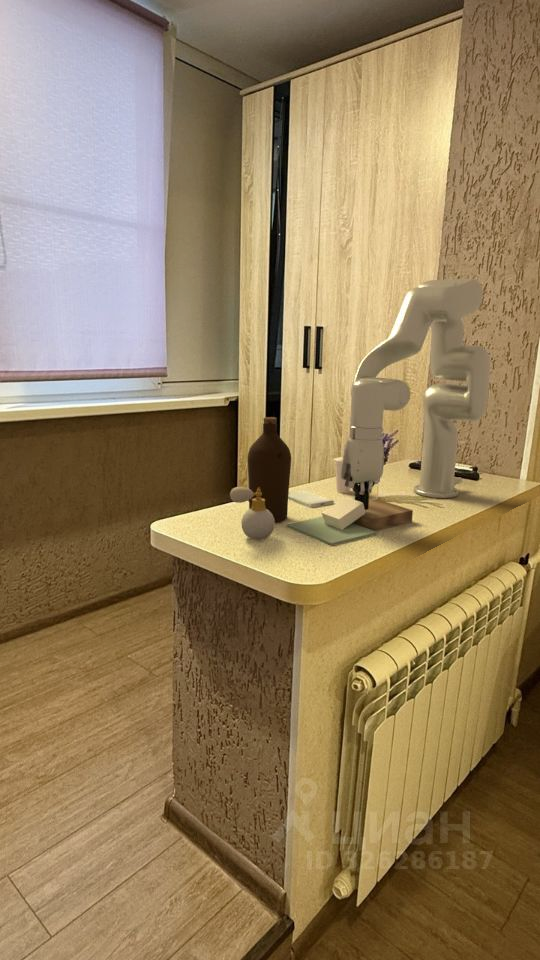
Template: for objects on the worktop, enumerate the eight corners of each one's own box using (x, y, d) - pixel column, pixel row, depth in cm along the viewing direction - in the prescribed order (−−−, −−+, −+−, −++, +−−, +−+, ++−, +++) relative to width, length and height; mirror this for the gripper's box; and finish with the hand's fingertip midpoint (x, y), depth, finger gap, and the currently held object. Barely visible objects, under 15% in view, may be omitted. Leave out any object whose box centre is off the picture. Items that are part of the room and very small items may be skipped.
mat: (330, 517, 151) (330, 514, 151) (376, 534, 138) (376, 531, 138) (286, 526, 143) (286, 524, 142) (331, 545, 130) (331, 543, 130)
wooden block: (376, 510, 158) (377, 499, 157) (411, 521, 148) (412, 510, 148) (337, 518, 150) (337, 507, 149) (372, 531, 140) (372, 519, 139)
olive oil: (297, 516, 151) (300, 417, 145) (275, 527, 142) (278, 422, 136) (261, 509, 156) (262, 413, 150) (238, 519, 147) (239, 418, 141)
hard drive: (282, 493, 168) (310, 503, 158) (305, 489, 173) (334, 499, 163) (282, 499, 169) (310, 509, 159) (305, 495, 173) (333, 505, 163)
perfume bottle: (281, 539, 134) (282, 487, 131) (245, 548, 128) (245, 493, 125) (261, 530, 139) (262, 480, 137) (226, 538, 134) (226, 486, 131)
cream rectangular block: (348, 507, 147) (345, 496, 146) (365, 513, 143) (363, 502, 141) (324, 523, 144) (321, 512, 142) (341, 530, 139) (338, 519, 138)
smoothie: (327, 491, 176) (330, 444, 172) (340, 487, 180) (343, 441, 177) (345, 495, 172) (348, 447, 168) (358, 491, 176) (361, 444, 173)
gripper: (376, 429, 148) (371, 500, 152) (331, 434, 139) (327, 509, 144) (399, 433, 142) (394, 507, 147) (353, 438, 134) (349, 517, 138)
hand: (361, 508), depth 145 cm, fingers closed
